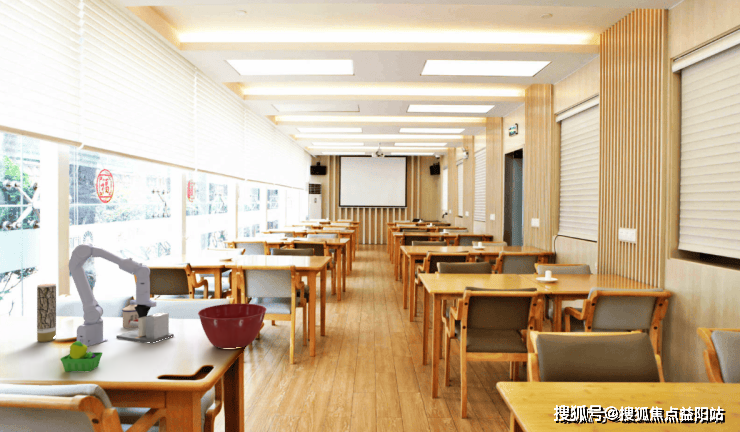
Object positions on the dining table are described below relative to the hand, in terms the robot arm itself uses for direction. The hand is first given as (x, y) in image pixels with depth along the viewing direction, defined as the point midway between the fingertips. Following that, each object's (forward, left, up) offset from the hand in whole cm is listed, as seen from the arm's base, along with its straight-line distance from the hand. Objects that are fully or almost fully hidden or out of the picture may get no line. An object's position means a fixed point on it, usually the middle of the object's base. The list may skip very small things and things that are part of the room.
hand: (142, 321), depth 198 cm
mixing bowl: (+6, -46, -8) cm, 48 cm away
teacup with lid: (+14, +22, -8) cm, 27 cm away
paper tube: (-20, +36, -8) cm, 41 cm away
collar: (0, -3, -6) cm, 6 cm away
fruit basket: (-39, -14, -8) cm, 42 cm away
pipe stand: (0, -2, -6) cm, 7 cm away
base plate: (0, -1, -7) cm, 8 cm away
